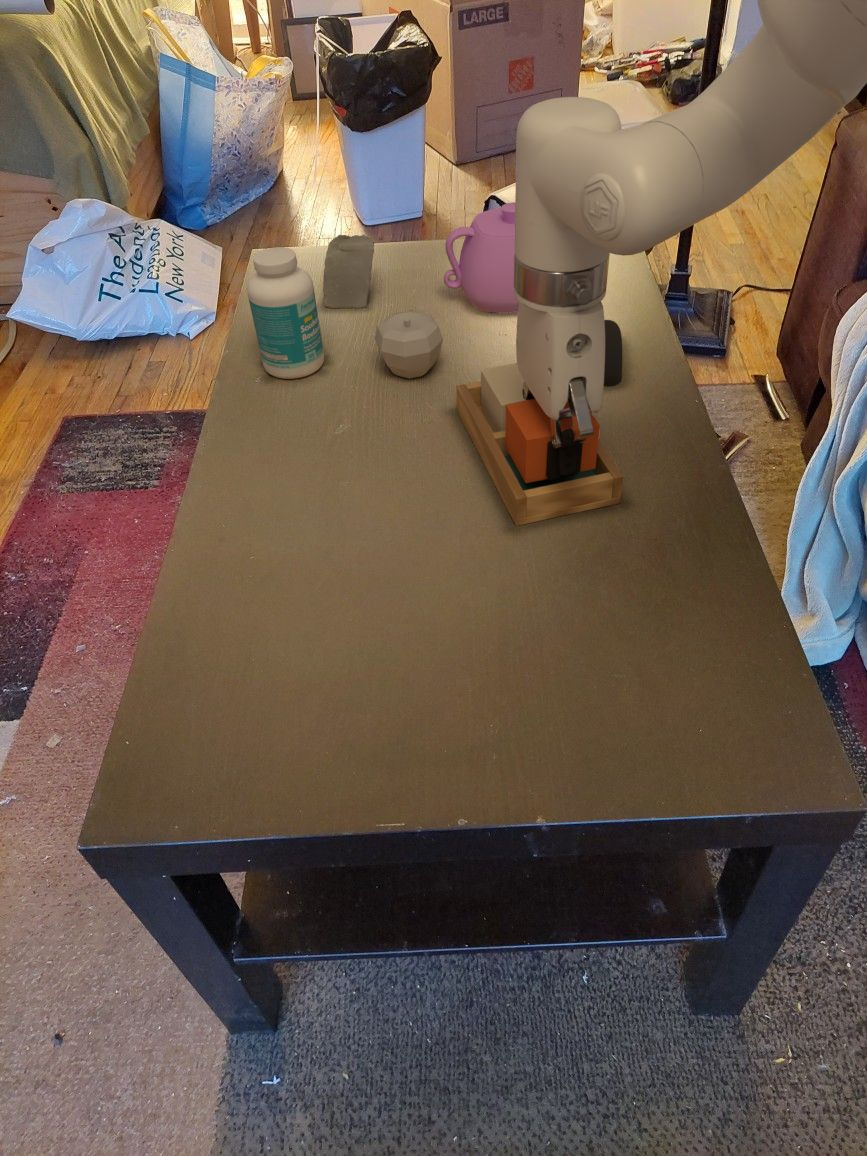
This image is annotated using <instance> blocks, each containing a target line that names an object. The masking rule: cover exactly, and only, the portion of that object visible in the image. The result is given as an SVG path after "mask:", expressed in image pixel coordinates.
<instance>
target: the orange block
mask: <svg viewBox="0 0 867 1156" xmlns="http://www.w3.org/2000/svg"><path fill="white" fill-rule="evenodd" d="M566 408H570V407H569V403H566V404H565V406H564V408H563V409H566ZM589 411H590V410H589ZM590 416H591V421H592V425H593V435H592V436H590V437H588V438H587V439H586V440H585V442H584V443H583V447H582V458H581V469H580V472H583V471H587V470H592V469H595V467H596V458H597V449H598V440H599V438H600V429H601V425H600V423H599V422H598V420H597V418H596V417H595V416H594V414H593V413H591V411H590ZM560 425H561V432H562V431H564V430H565V429H570V428H571V427H572V425H573V421H572V417H571V418H566V419H561V420H560ZM551 441H552V437H551V425H550V417H549V416H547V415H546V414H545V412H544V411H543V409H542V408H541V407H540V405H539V404H538V402H537V401H536V399H531V400H526V401H521V402H516V403H511V404H506V437H505V447H506V449H507V451H508V453H509V455H510V456H511V458H512V460H513V462H514V464H515V465H516V467H517V469H518V471H519V473H520V474H521V476H522V478H523V480H524V482H525V483H531V482H535V481H540V480H545V479H548V477H547V476H546V465H547V446H548V442H551Z"/></svg>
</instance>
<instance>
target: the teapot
mask: <svg viewBox="0 0 867 1156" xmlns="http://www.w3.org/2000/svg"><path fill="white" fill-rule="evenodd" d="M461 237H464V240H463V243H462V247H461V249H460V255H459V261H458V260H457V258H456V255H455V251H454V248H453V246H454V242H455V241H456V240H457V239H459V238H461ZM444 246H445V253H446V257H447V259H448V261H449V264H450V266H451V269H448V270H447V271H445V274H444V276H443V282H444V285H445V286H446V287H447V288H449V289H453V290H456V289H457V290H458V289H460V288H461V290H462V291H463V294H464V296H465V297H466V299H467V300H468V301H469V302H470V303H471V305H472V306H473V307H474V308H476V309H477V310H480V311H482V312H487V313H489V314H499V313H505V314H506V313H509V314H510V313H518V305H519V301H518V300H517V299H516V297H515V296H514V252H515V201H514V202H507V203H504V204H502V205H501V207H499V208H493V209H489V210H488V209H487V210H484V211H482V212H480V213H478V214H477V215H475V216H474V218H473V220H472V221H471V223H470V225H469V226H460V227H457V228H455V229H453V230H452V231H451V232H450V233H449V234H448V235H447V237H446V239H445V245H444ZM451 276H455V279H454V280H452V279H450V277H451Z"/></svg>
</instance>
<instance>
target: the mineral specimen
mask: <svg viewBox="0 0 867 1156" xmlns="http://www.w3.org/2000/svg"><path fill="white" fill-rule="evenodd" d="M374 253H375V242H374V239H373V238H372V237H369V236H368V235H364V234H362V235H357V234H355V235H352V236H350V235H347V234H338V235H337V236H336V237H334V238H333V239H332V240H330V241H329V242H328V245H327V250H326V253H325V258H324V264H323V265H324V269H323V275H322V276H323V278H322V286H323V287H322V288H323V289H322V294H323V302H324V305H325V307H326V308H329V309H342V308H344V309H350V308H351V309H352V308H353V309H361V308H362V309H364V308H366V307H367V305H368V296H369V289H370V283H371V278H372V277H371V275H372V269H373V261H374V260H373V259H374Z"/></svg>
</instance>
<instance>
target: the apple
mask: <svg viewBox="0 0 867 1156" xmlns="http://www.w3.org/2000/svg"><path fill="white" fill-rule="evenodd" d="M374 334H375V335H374V341H375V343H376V345H377V348H378V350H379V352H380V354H381V357H382V359H383V361H384V363H385V364H386V366H387V367H388V368H389V369H390V371H391V372H392V373H393V374H394V375H396V376H398V377H401V378H404V379H405V378H406V379H410V380H411V379H415V378H420V377H423V376H425V375H426V374H427V373H428V371H430V369H431V368H432V367H433V366H434V364H435V363H436V361H437V359H439V356H440V353H441V349H442V345H443V341H444V338H443V336H442V333H441V330H440V327H439V325H438V323H437V322H436V320H435V318H434V317H433V315H431V314H429V313H425V312H420V311H415V310H406V311H401V312H396V313H390V314H389V315H388V316H387V317H385V319H383V320H382V321H381V322H380V323H379V324H378V325H377V326H376V330H375V333H374Z"/></svg>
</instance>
